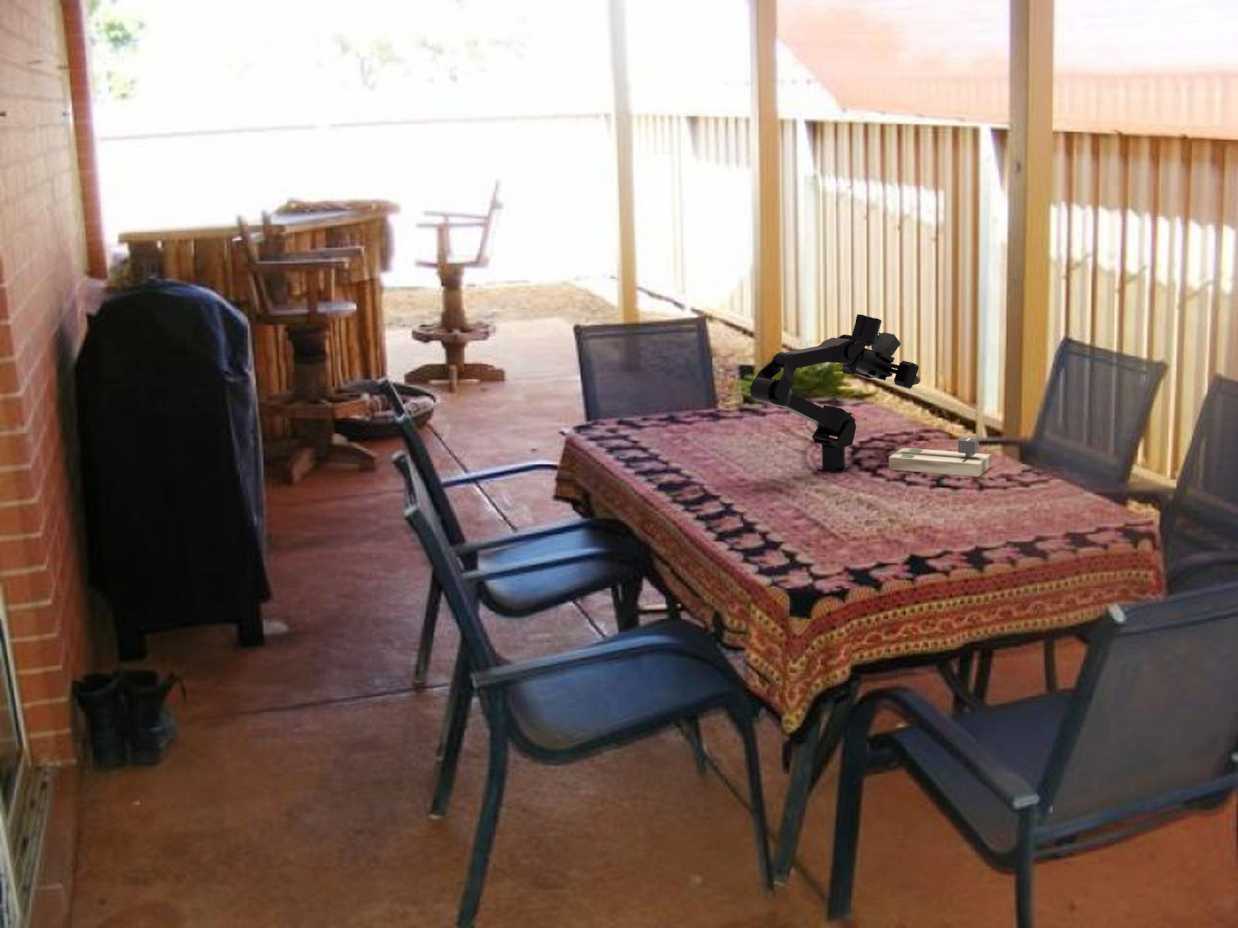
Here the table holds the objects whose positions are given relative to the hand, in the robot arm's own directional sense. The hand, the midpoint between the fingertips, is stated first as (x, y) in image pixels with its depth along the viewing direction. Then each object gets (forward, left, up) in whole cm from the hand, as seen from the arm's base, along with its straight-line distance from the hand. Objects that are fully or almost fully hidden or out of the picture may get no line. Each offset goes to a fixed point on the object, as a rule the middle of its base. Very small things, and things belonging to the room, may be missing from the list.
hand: (905, 378), depth 379 cm
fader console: (-17, -14, -18) cm, 28 cm away
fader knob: (-17, -21, -15) cm, 31 cm away
